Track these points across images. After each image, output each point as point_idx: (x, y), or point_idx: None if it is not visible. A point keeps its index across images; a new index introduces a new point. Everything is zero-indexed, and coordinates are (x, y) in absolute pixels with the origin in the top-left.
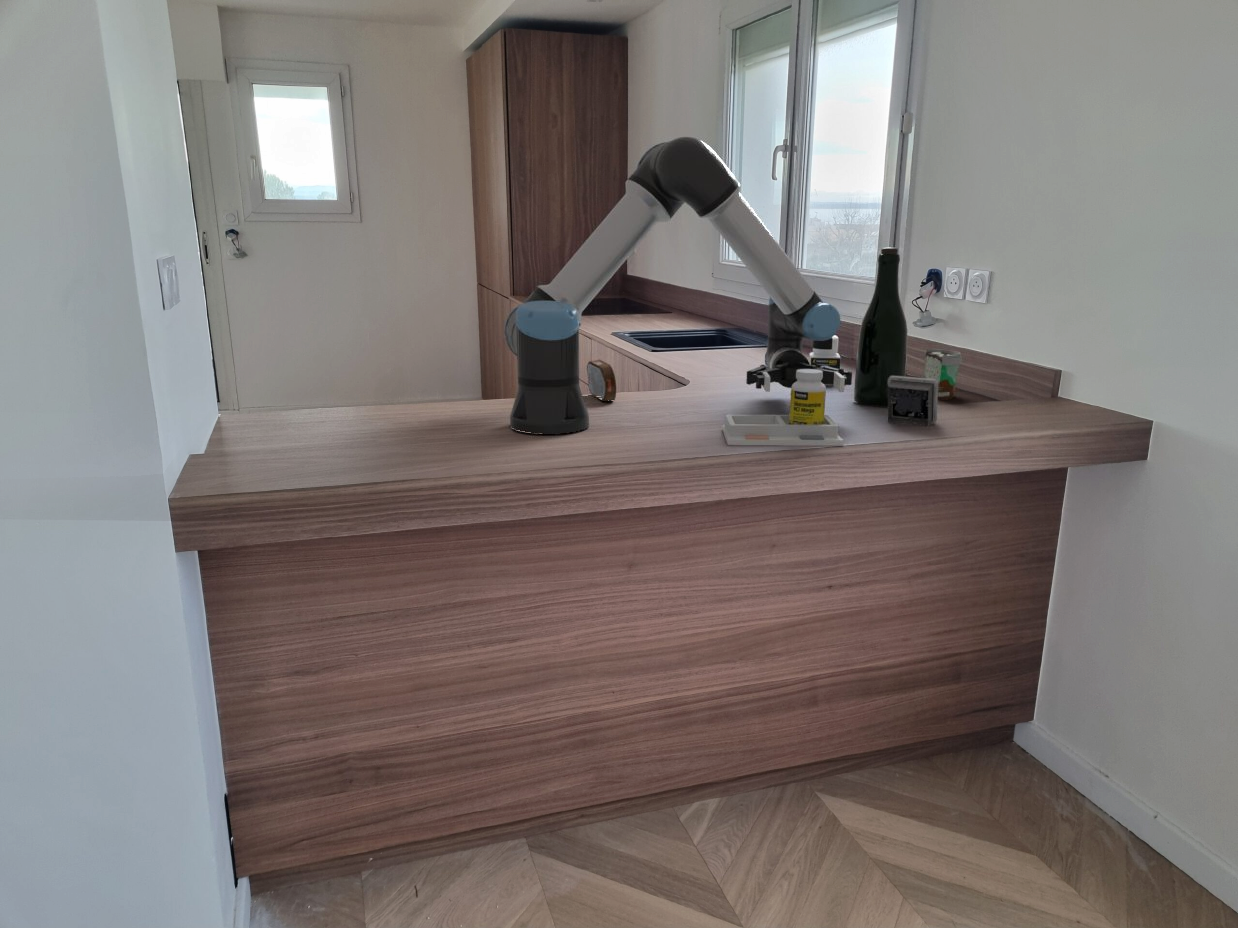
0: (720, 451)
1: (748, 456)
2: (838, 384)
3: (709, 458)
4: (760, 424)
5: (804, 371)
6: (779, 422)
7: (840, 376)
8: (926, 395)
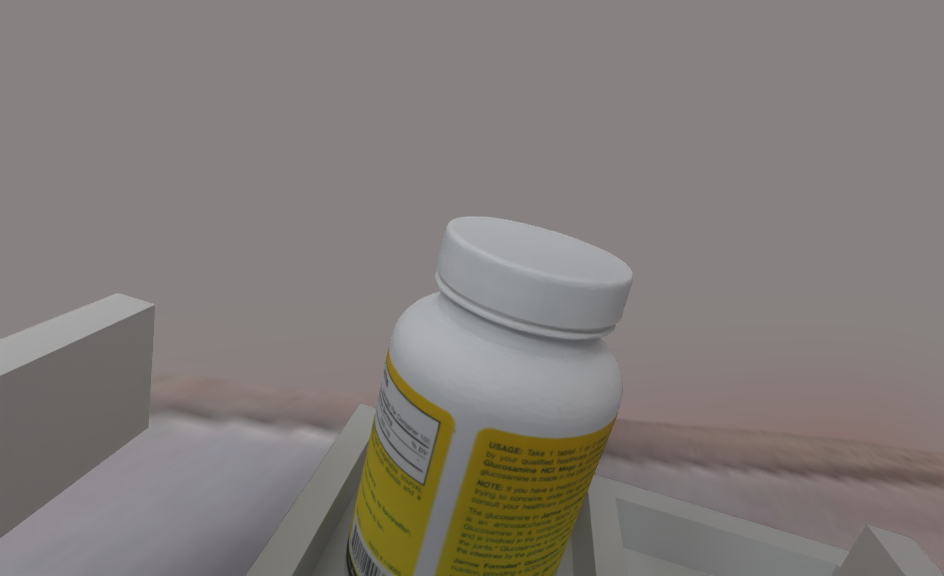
0: (792, 505)
1: (690, 442)
2: (78, 423)
3: (794, 460)
4: (710, 524)
5: (579, 250)
6: (617, 530)
7: (82, 328)
8: None
